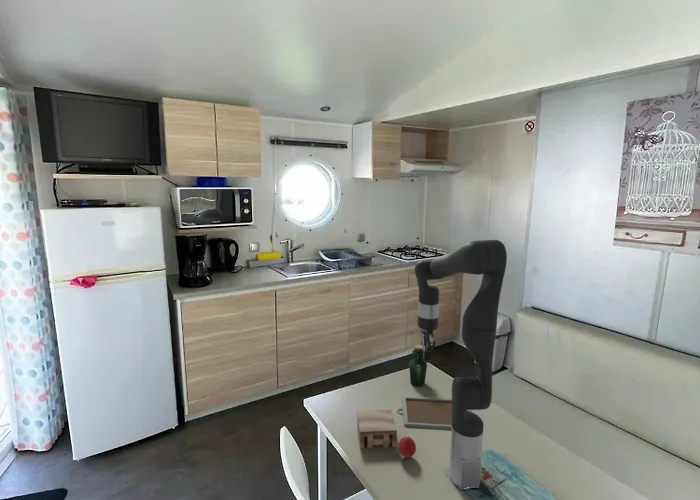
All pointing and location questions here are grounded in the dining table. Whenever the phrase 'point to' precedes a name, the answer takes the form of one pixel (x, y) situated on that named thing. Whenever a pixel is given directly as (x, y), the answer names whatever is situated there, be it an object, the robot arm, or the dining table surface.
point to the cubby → (376, 427)
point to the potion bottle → (417, 367)
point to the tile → (379, 439)
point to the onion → (407, 447)
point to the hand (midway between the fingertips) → (426, 359)
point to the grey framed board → (427, 412)
